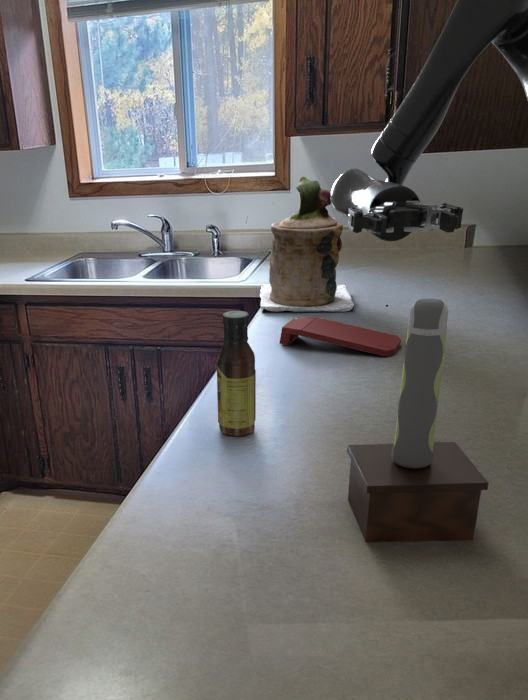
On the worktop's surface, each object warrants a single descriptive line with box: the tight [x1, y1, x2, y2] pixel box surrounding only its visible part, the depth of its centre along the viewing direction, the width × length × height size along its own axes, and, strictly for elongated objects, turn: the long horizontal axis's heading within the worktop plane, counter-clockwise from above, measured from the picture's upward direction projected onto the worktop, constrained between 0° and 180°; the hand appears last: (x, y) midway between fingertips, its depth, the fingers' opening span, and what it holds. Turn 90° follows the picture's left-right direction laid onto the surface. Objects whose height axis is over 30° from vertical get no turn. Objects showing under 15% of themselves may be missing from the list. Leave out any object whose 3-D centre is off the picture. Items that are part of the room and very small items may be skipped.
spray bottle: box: [392, 298, 449, 469], centre depth 87 cm, size 5×5×20 cm
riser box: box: [346, 441, 489, 543], centre depth 93 cm, size 14×12×8 cm
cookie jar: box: [259, 176, 355, 313], centre depth 196 cm, size 25×25×32 cm
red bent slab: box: [279, 316, 402, 357], centre depth 165 cm, size 12×5×25 cm
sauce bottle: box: [216, 310, 257, 437], centre depth 119 cm, size 7×6×20 cm
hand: (418, 225), depth 93 cm, fingers open, 8 cm apart
